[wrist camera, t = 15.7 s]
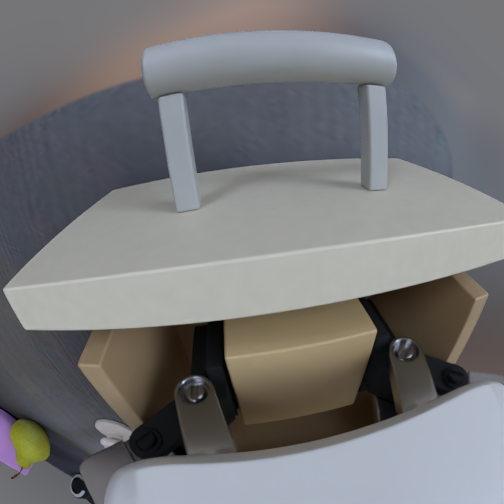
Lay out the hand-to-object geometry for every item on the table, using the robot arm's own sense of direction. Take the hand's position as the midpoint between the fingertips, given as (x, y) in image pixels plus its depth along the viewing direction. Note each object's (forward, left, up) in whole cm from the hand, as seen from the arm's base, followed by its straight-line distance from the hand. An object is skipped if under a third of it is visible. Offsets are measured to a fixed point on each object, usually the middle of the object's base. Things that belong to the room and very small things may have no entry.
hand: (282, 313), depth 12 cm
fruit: (+42, -10, -4) cm, 44 cm away
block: (0, 0, -1) cm, 1 cm away
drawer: (-1, -1, -3) cm, 3 cm away
